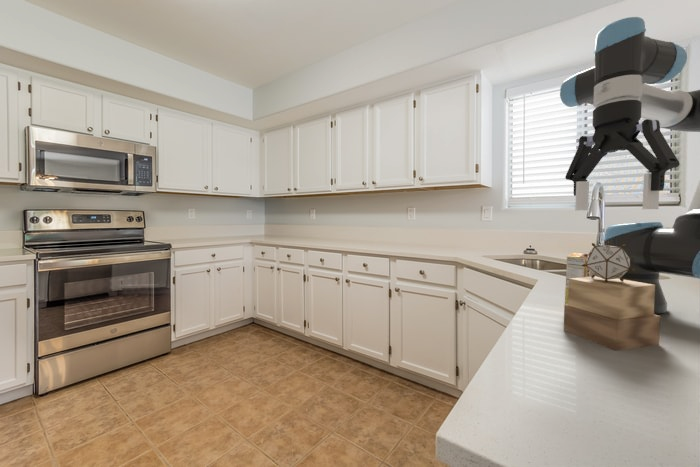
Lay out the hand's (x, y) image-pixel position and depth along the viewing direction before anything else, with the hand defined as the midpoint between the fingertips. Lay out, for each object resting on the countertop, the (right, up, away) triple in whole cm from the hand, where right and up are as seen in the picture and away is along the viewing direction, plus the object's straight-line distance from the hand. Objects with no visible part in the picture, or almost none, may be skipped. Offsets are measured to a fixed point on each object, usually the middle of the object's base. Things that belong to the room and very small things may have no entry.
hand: (612, 210), depth 65 cm
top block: (0, -21, +1) cm, 21 cm away
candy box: (+5, -26, +17) cm, 31 cm away
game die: (0, -15, +1) cm, 15 cm away
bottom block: (0, -27, +1) cm, 27 cm away
